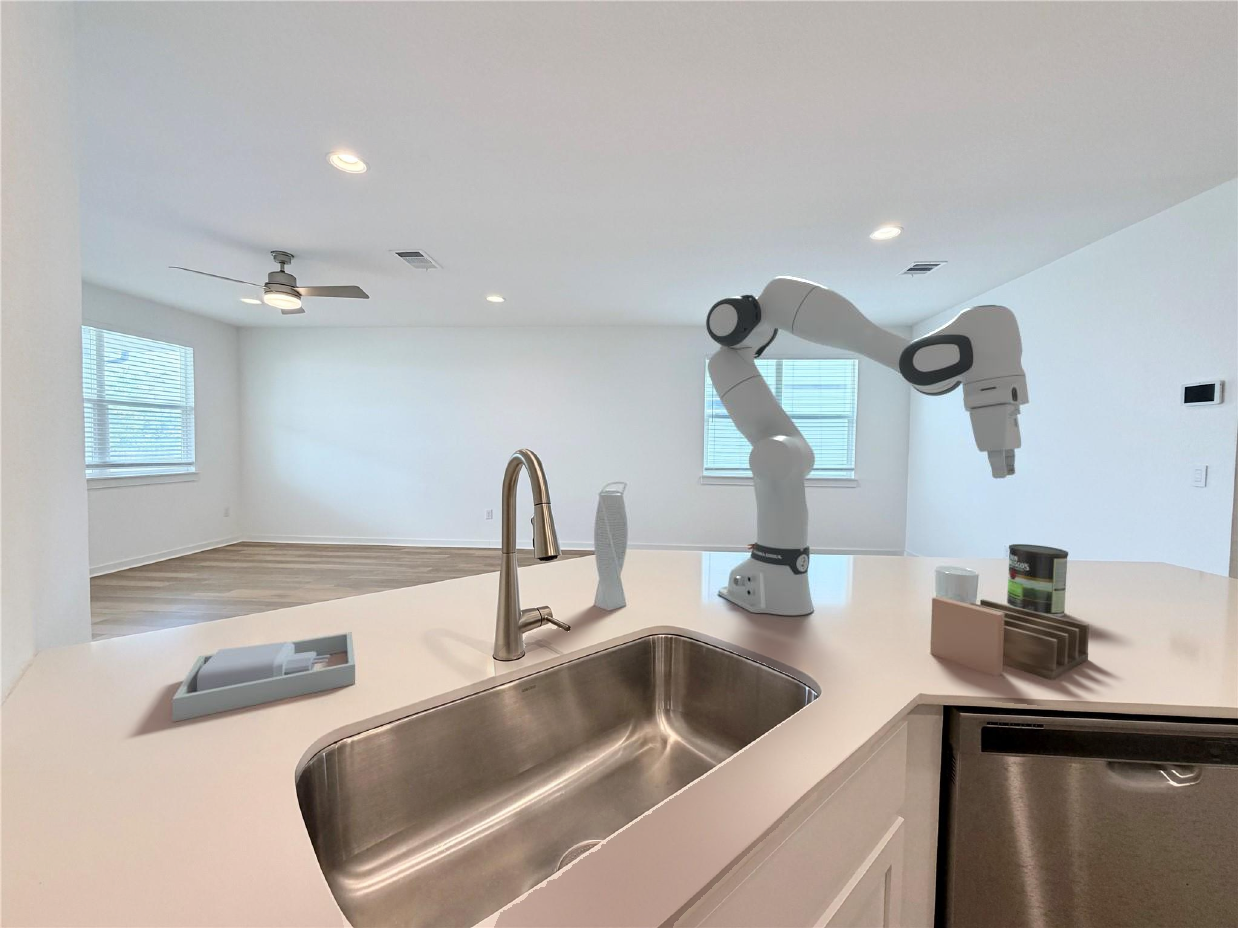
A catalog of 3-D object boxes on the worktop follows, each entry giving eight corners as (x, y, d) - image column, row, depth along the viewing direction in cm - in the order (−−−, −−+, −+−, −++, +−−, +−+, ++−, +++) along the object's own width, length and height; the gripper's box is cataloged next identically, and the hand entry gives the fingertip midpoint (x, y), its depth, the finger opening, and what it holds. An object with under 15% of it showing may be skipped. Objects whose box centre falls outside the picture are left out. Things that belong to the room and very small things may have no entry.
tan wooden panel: (930, 653, 86) (932, 597, 86) (936, 651, 87) (938, 596, 87) (996, 676, 78) (998, 615, 78) (1002, 673, 79) (1004, 612, 79)
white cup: (963, 610, 110) (964, 566, 110) (985, 622, 102) (987, 575, 102) (926, 608, 111) (927, 565, 111) (946, 620, 103) (947, 574, 103)
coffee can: (1025, 615, 107) (1028, 552, 106) (996, 601, 117) (998, 543, 117) (1078, 618, 105) (1081, 554, 105) (1043, 603, 116) (1046, 544, 115)
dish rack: (943, 643, 91) (944, 611, 90) (982, 629, 98) (983, 599, 98) (1052, 679, 77) (1054, 641, 77) (1087, 659, 85) (1089, 624, 84)
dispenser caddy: (199, 675, 75) (199, 656, 75) (351, 648, 85) (351, 631, 85) (172, 721, 62) (172, 698, 62) (355, 683, 73) (355, 664, 73)
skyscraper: (612, 597, 116) (614, 480, 115) (634, 605, 111) (636, 482, 110) (587, 604, 111) (588, 482, 110) (608, 613, 105) (610, 484, 104)
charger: (323, 687, 72) (197, 706, 67) (333, 661, 81) (222, 676, 75) (323, 655, 72) (196, 672, 66) (333, 633, 81) (221, 646, 75)
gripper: (984, 404, 94) (992, 474, 94) (960, 397, 80) (970, 481, 80) (1026, 398, 90) (1035, 472, 89) (1009, 390, 76) (1020, 478, 75)
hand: (1004, 476), depth 84 cm, fingers open, 8 cm apart
